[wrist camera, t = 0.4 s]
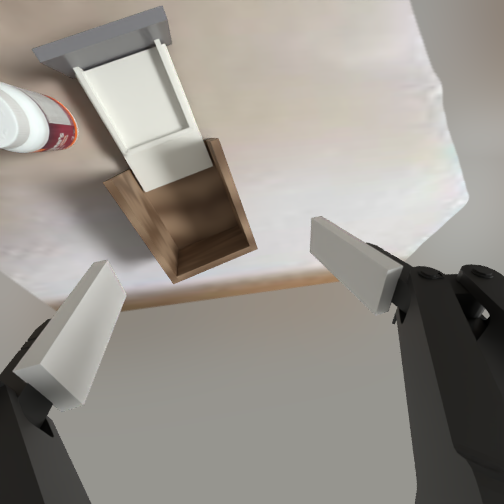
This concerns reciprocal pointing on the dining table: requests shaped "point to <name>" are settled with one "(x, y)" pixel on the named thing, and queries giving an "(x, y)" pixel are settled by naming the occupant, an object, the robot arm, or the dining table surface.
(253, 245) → the wooden box
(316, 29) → the dining table surface
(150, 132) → the tray
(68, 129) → the pill bottle
